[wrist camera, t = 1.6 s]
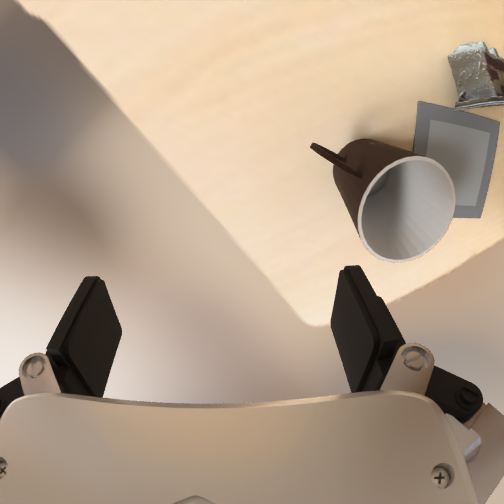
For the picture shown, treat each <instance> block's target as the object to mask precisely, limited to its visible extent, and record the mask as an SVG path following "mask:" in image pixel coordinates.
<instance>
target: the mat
mask: <svg viewBox="0 0 504 504" xmlns="http://www.w3.org/2000/svg"><path fill="white" fill-rule="evenodd" d="M499 126H500V122H498V121H494V120H491V119H488V118H485V117H481V116H478V115H475V114H471V113H467V112H464V111H460V110H456V111H454V109H452V108H448V107H444V106H439V105H435V104H430V103H425V102H420V101H418V109H417V120H416V130H415V139H414V147H413V153H416V154H419V155H422V156H425V157H427V158H430V159H433V160H435V161H436V162H438V163H439V164H441V165H442V166H443V167H444V168H445V169H446V171H447V172H448V173H449V175H450V177H451V179H452V181H453V185H454V188H455V197H456V202H455V210H454V214H453V218H481V214H482V211H483V207H484V203H485V199H486V195H487V191H488V187H489V183H490V178H491V173H492V169H493V163H494V158H495V153H496V147H497V140H498V133H499Z"/></svg>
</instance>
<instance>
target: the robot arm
mask: <svg viewBox="0 0 504 504" xmlns="http://www.w3.org/2000/svg"><path fill="white" fill-rule="evenodd" d="M331 329H332V332H333V335H334V338H335V341H336V344H337V348H338V350H339V354H340V357H341V360H342V363H343V366H344V370H345V373H346V376H347V380H348V383H349V386H350V389H351V392H352V393H349V394H340V395H333V396H325V397H315V398H305V399H295V400H284V401H271V402H253V403H229V404H228V403H223V404H190V403H161V402H160V403H159V402H144V401H130V400H119V399H109V398H102V397H103V394H104V391H105V387H106V384H107V380H108V377H109V373H110V370H111V367H112V364H113V360H114V357H115V354H116V350H117V348H118V345H119V342H120V339H121V335H122V328H121V326H120V323H119V320H118V318H117V316H116V312H115V310H114V307H113V304H112V302H111V299H110V296H109V294H108V291H107V288H106V285H105V282H104V281H103V280H101V279H100V277H98V276H92V277H91V276H88V277H85V278H84V279H83V281H82V283H81V284H80V286H79V288H78V290H77V291H76V293H75V295H74V297H73V298H72V300H71V302H70V304H69V306H68V307H67V309H66V311H65V313H64V315H63V317H62V318H61V320H60V322H59V324H58V326H57V328H56V330H55V332H54V334H53V336H52V338H51V340H50V342H49V344H48V346H47V348H46V349H47V352H46V354H43V353H34V354H31V355H29V356H27V357H26V358H25V359H24V360H23V361H22V363H21V365H20V367H19V376H20V377H18V378H16V379H15V380H13V381H11V382H10V383H8V384H6V385H5V386H3V387H1V388H0V504H485V503H486V501H487V500H488V498H489V497H490V495H491V494H492V493H493V491H494V489H495V488H496V487H497V485H498V484H499V482H500V480H501V479H502V477H503V476H504V415H502V414H501V413H500V412H499V411H498V410H497V409H496V408H494V407H493V406H492V405H491V404H490V403H488V404H487V405H485V404H484V403H483V397H482V393H481V391H480V389H479V388H478V387H477V386H476V385H474V384H473V383H471V382H469V381H466V380H464V379H462V378H460V377H458V376H456V375H454V374H451V373H449V372H447V371H445V370H443V369H441V368H439V367H436V366H434V357H433V354H432V353H431V351H430V350H429V349H428V348H426V347H425V346H423V345H421V344H417V343H408V344H406V343H405V341H404V339H403V337H402V335H401V333H400V331H399V329H398V327H397V325H396V323H395V321H394V320H393V318H392V316H391V314H390V312H389V310H388V308H387V306H386V305H385V303H384V301H383V299H382V298H381V297H379V296H377V295H376V293H375V292H374V290H373V288H372V286H371V284H370V282H369V281H368V279H367V277H366V275H365V274H364V272H363V270H362V268H361V267H360V266H359V265H355V266H345V268H344V270H340V273H339V278H338V284H337V290H336V295H335V301H334V306H333V311H332V316H331Z"/></svg>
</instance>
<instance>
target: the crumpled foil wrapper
mask: <svg viewBox="0 0 504 504" xmlns="http://www.w3.org/2000/svg"><path fill="white" fill-rule="evenodd" d="M448 60H449V63H450V66H451V68H452V73H453V76H454V79H455V82H456V86H457V91H458V95H459V101H458V102H457V103H456V106H455V109H454V111H456V110H464V109H465V108H467V109H470V108H479V107H487V106H488V107H490V106H496V105H497V106H500V105H503V106H504V59H503V58H501V57H499V56H498V54H497V51H496V49H495V48H491V49H487V47H486V45H485V43H484V42H483V41H480V42H479V43H477V44H474V43H468V44H465V45H461V46H459V48H456V49H455V53H452V54H450V55H449V56H448Z"/></svg>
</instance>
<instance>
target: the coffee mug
mask: <svg viewBox="0 0 504 504" xmlns="http://www.w3.org/2000/svg"><path fill="white" fill-rule="evenodd" d="M310 148H311V149H313V150H314V151H315V152H316V153H318V154H319V155H321V156H322V157H324V158H325V159H327V160H328V161H330V162H331V163H333V164H334V166H333V177H334V181H335V184H336V186H337V188H338V190H339V192H340V194H341V196H342V198H343V200H344V203H345V205H346V207H347V209H348V211H349V214H350V216H351V218H352V220H353V223H354V225H355V227H356V229H357V232H358V234H359V236H360V239H361V241H362V243H363V245H364V246H365V248H366V249H367V250H368V251H369V252H370V254H372V255H373V256H375V257H376V258H378V259H380V260H383V261H385V262H391V263H401V262H407V261H411V260H414V259H416V258H418V257H420V256H422V255H424V254H425V253H427V252H428V251H430V250H431V249H432V248H433V247H434V246H435V245H436V244H437V243H438V242H439V241H440V240H441V238H442V237H443V236H444V234H445V233H446V231H447V229H448V228H449V225H450V223H451V221H452V218H453V214H454V210H455V202H456V197H455V188H454V185H453V181H452V179H451V177H450V175H449V173H448V172H447V171H446V169H445V168H444V167H443V166H442V165H441V164H439V163H438V162H436V161H435V160H433V159H430V158H427V157H425V156H422V155H419V154H416V153H413V152H410V151H406V150H403V149H400V148H397V147H393V146H390V145H387V144H383V143H380V142H376V141H373V140H369V139H360V140H355V141H353V142H350V143H349V144H347V145H346V146H345V147H344V148H342V149H341V151H340V152H339V153H338V154H336V153H334V152H332V151H330V150H328V149H326V148H324V147H322V146H320V145H318V144H316V143H312V144H311V146H310Z"/></svg>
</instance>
